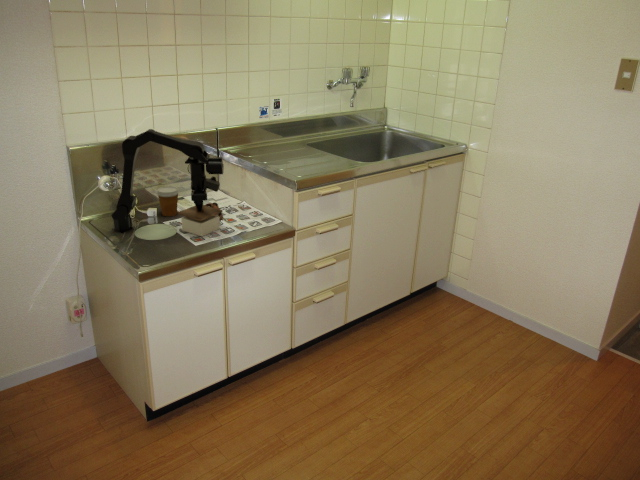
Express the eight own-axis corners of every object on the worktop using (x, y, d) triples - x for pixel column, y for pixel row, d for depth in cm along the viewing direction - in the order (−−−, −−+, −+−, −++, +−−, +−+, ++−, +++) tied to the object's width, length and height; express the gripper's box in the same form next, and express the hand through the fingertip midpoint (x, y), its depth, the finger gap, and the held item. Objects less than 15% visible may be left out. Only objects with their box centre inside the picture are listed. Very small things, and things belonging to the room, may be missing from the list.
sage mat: (154, 244, 216) (154, 243, 216) (125, 234, 224) (125, 233, 224) (185, 231, 229) (185, 229, 229) (157, 222, 237) (157, 221, 237)
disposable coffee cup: (161, 219, 240) (159, 193, 235) (156, 212, 248) (154, 187, 243) (182, 216, 244) (181, 191, 239) (177, 209, 252) (175, 185, 247)
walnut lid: (200, 221, 219) (199, 208, 217) (177, 214, 225) (176, 202, 223) (222, 212, 229) (221, 200, 227) (199, 205, 236) (198, 194, 233)
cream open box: (201, 237, 223) (200, 223, 221) (182, 231, 229) (181, 217, 226) (219, 229, 232) (219, 216, 230) (200, 223, 237) (200, 210, 235)
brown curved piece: (222, 224, 239) (212, 210, 234) (204, 231, 242) (194, 217, 237) (227, 208, 248) (218, 194, 244) (210, 215, 251) (200, 201, 247)
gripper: (219, 180, 214) (220, 217, 220) (216, 166, 231) (218, 201, 237) (190, 180, 212) (192, 218, 218) (189, 167, 228) (192, 202, 234)
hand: (199, 209), depth 227 cm, fingers closed on walnut lid, 3 cm apart
